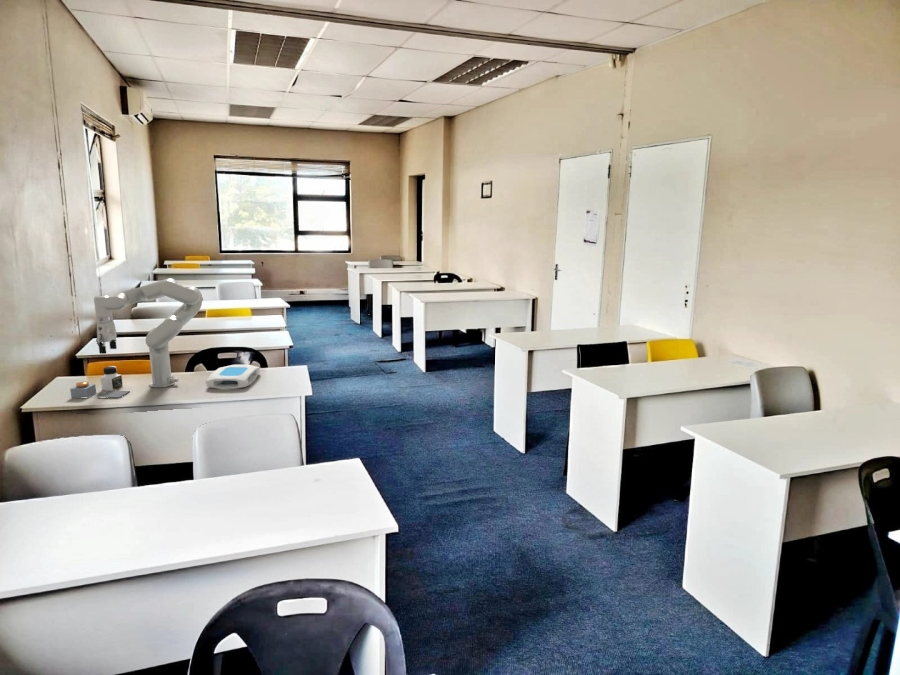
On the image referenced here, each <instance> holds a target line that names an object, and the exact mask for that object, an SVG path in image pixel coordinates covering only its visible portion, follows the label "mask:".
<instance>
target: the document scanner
mask: <svg viewBox="0 0 900 675" xmlns="http://www.w3.org/2000/svg"><path fill="white" fill-rule="evenodd" d="M260 369H261V368H260V367H259V366H257V365H252V364H231V365H227V366H223V367H222V366H221V367H218V368H217V369H215V371H213V372H212V373H211V374H210V375H209V376H208V378H207V379H206V381H205V383H206V387H207V388H210V389H216V390H236V389H237V390H238V389H243V388H246V387H249V386H250V385H252V384H253V382H254V381H256V379H257V378H258V376H259V374H260V373H261V372H260ZM225 381H234V382H237V384H223V382H225Z"/></svg>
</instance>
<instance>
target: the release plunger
mask: <svg viewBox="0 0 900 675" xmlns="http://www.w3.org/2000/svg"><path fill="white" fill-rule="evenodd" d="M89 384H90V382H89V381H79V382H76V383H75V386H76V387H77V388H85V387H87V386H88V385H89Z"/></svg>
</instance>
